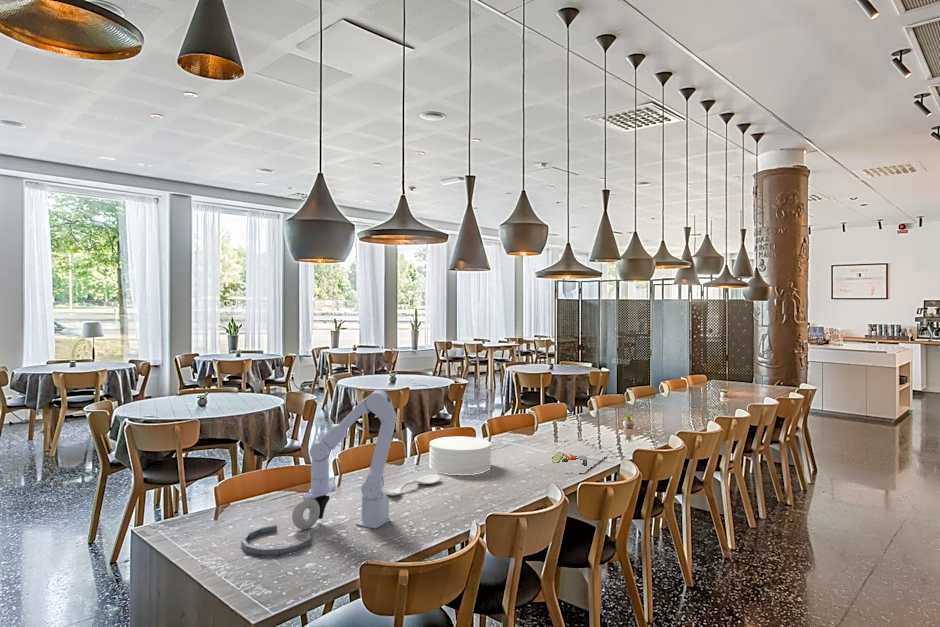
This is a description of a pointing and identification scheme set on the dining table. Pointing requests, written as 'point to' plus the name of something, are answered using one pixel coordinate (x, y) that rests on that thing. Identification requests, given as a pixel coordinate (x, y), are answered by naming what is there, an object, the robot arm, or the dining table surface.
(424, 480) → the spoon
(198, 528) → the dining table surface
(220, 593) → the dining table surface
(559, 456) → the green red elongated piece
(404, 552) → the dining table surface
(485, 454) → the plate stack
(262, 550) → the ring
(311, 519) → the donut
